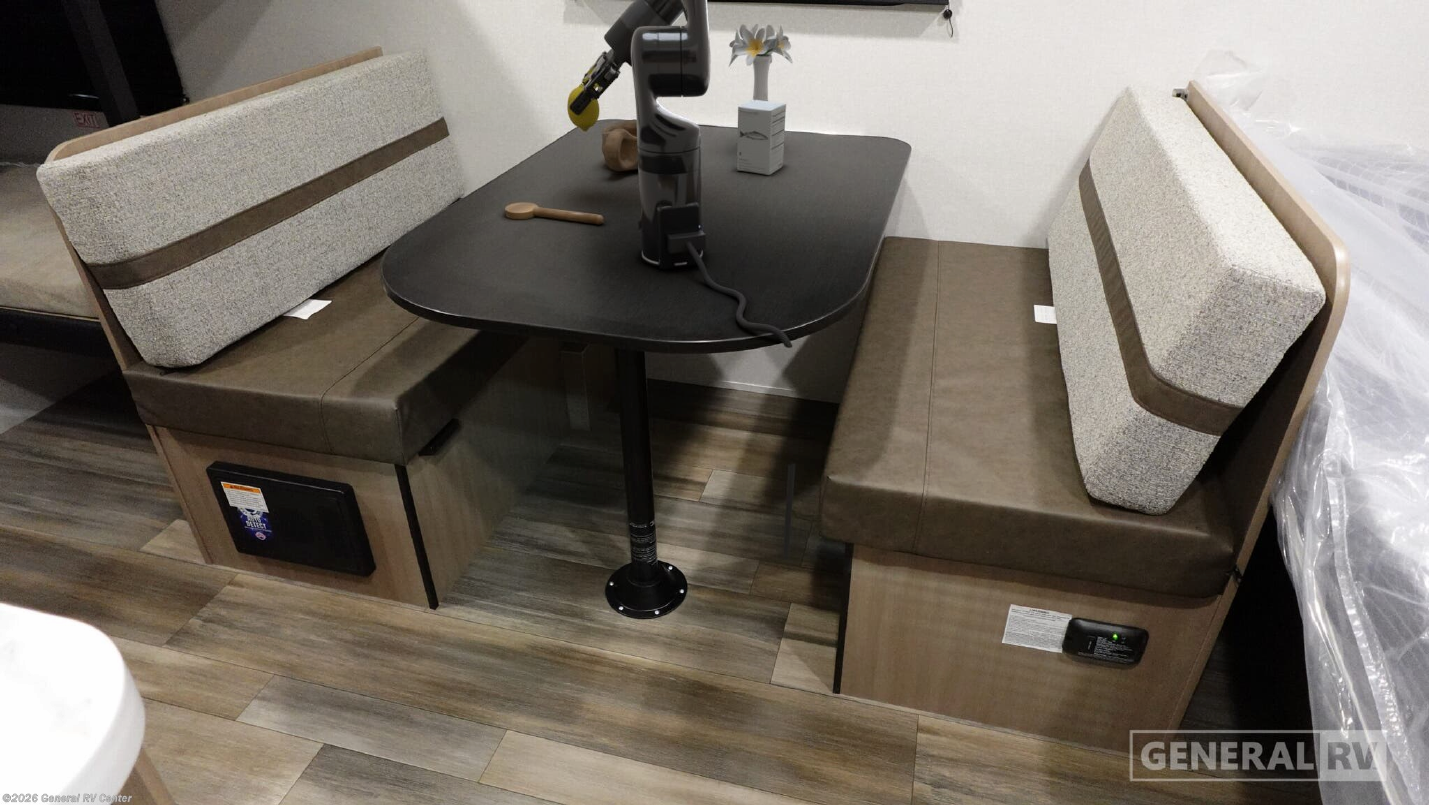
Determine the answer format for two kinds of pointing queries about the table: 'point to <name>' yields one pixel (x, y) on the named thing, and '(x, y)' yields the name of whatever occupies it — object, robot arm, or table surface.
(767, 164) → the white packaging box
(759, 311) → the table surface
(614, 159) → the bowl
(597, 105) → the lemon
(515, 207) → the spoon
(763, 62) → the flower vase
